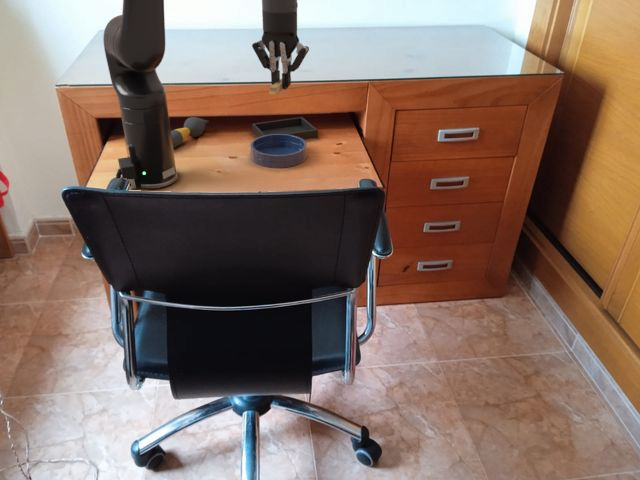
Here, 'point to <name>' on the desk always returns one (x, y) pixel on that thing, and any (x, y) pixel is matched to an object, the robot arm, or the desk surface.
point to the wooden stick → (276, 88)
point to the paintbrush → (188, 130)
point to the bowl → (278, 150)
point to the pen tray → (286, 128)
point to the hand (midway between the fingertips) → (281, 87)
